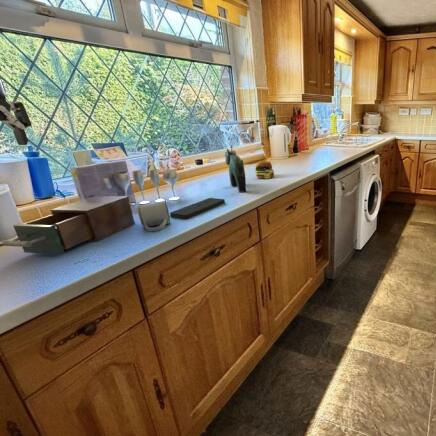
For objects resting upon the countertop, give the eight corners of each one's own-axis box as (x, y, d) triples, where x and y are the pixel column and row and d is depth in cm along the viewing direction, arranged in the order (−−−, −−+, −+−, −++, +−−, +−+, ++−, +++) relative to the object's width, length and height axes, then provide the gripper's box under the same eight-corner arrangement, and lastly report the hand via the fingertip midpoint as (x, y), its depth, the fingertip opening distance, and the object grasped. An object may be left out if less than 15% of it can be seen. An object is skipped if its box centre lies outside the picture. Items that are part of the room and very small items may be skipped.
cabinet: (97, 241, 88) (87, 210, 85) (61, 240, 90) (50, 209, 87) (135, 223, 102) (127, 196, 98) (103, 222, 104) (94, 195, 100)
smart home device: (225, 198, 120) (186, 214, 103) (226, 203, 121) (187, 219, 104) (209, 197, 124) (168, 212, 106) (210, 201, 124) (169, 217, 107)
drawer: (40, 263, 74) (28, 234, 71) (3, 261, 76) (-10, 232, 73) (104, 234, 91) (96, 209, 88) (72, 233, 93) (64, 209, 90)
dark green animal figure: (228, 184, 151) (222, 144, 144) (241, 183, 154) (235, 143, 147) (236, 193, 134) (230, 148, 128) (251, 191, 137) (245, 146, 130)
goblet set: (103, 209, 117) (93, 176, 112) (106, 206, 122) (96, 173, 117) (182, 199, 129) (176, 168, 124) (181, 195, 134) (175, 166, 129)
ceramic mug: (143, 223, 101) (138, 201, 98) (170, 219, 105) (165, 197, 102) (141, 234, 92) (135, 211, 90) (171, 229, 96) (165, 206, 93)
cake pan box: (131, 200, 130) (121, 158, 124) (139, 201, 128) (128, 159, 122) (82, 213, 114) (67, 167, 108) (90, 215, 112) (75, 168, 106)
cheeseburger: (258, 180, 158) (255, 161, 157) (254, 181, 168) (251, 163, 167) (277, 177, 162) (273, 158, 161) (272, 178, 172) (269, 161, 171)
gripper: (-2, 78, 76) (23, 144, 81) (-82, 72, 62) (-46, 151, 68) (23, 76, 74) (46, 143, 80) (-54, 70, 61) (-20, 150, 67)
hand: (3, 147), depth 74 cm, fingers open, 8 cm apart
